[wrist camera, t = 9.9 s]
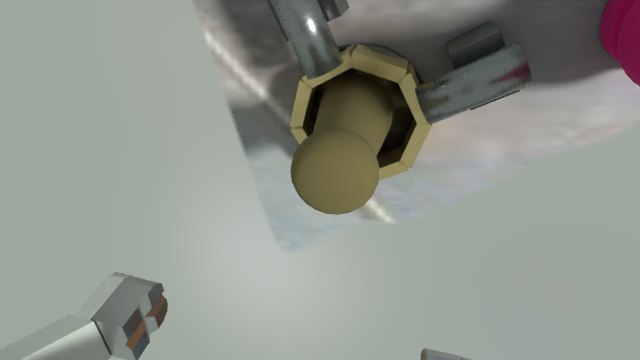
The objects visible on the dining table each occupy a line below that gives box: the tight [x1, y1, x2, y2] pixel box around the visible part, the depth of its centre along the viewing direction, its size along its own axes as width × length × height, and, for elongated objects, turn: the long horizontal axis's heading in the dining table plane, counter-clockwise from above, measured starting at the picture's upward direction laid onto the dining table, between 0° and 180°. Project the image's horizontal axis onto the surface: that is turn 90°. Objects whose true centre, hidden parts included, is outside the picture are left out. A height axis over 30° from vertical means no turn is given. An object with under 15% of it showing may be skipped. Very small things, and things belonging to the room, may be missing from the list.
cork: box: [291, 75, 395, 215], centre depth 24 cm, size 6×6×11 cm
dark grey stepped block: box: [267, 0, 349, 80], centre depth 23 cm, size 6×4×6 cm, turn 26°
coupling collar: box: [289, 44, 432, 181], centre depth 28 cm, size 10×10×3 cm
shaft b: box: [415, 21, 532, 125], centre depth 23 cm, size 6×4×6 cm, turn 121°
